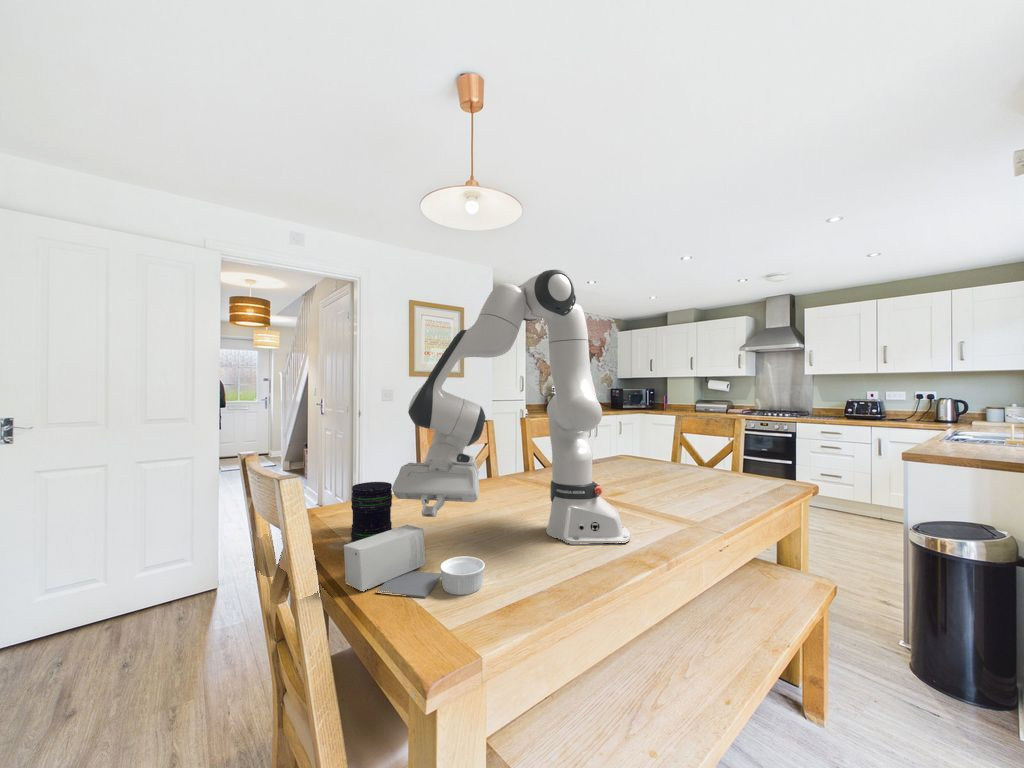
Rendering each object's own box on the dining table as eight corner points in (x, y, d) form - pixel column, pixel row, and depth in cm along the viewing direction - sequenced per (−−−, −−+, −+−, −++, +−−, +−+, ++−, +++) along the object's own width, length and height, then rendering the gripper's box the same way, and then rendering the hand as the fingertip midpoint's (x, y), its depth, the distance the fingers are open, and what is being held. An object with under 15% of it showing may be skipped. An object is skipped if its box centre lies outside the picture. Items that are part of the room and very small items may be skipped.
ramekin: (489, 593, 81) (489, 571, 81) (443, 600, 78) (443, 576, 78) (479, 574, 89) (479, 554, 89) (437, 579, 87) (437, 558, 87)
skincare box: (408, 523, 96) (342, 542, 85) (425, 528, 92) (359, 549, 80) (409, 560, 96) (343, 584, 84) (426, 567, 92) (360, 593, 80)
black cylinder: (349, 541, 109) (350, 483, 109) (388, 536, 113) (389, 480, 113) (352, 555, 100) (353, 491, 100) (394, 548, 104) (395, 488, 104)
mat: (442, 575, 89) (442, 573, 89) (425, 598, 79) (425, 596, 79) (397, 572, 90) (397, 570, 90) (375, 593, 80) (375, 591, 80)
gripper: (399, 455, 102) (379, 505, 92) (480, 457, 99) (469, 510, 89) (406, 470, 107) (388, 520, 97) (485, 472, 103) (474, 525, 93)
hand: (428, 515), depth 93 cm, fingers closed
